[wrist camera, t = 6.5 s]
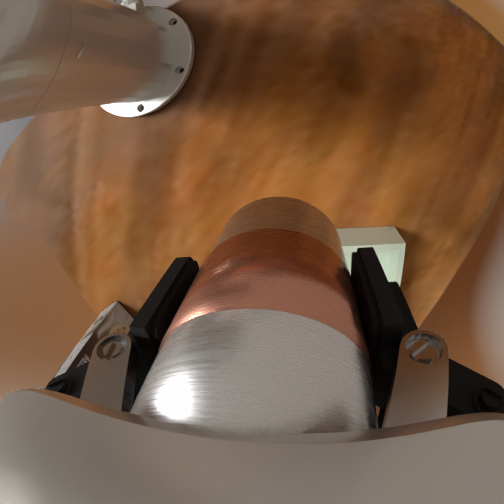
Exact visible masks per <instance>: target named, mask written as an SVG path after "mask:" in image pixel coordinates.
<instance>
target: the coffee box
mask: <svg viewBox="0 0 504 504" xmlns="http://www.w3.org/2000/svg"><path fill="white" fill-rule="evenodd" d="M133 320H134V318H133V317H132V316H131V315H130V314H129V313H128V312H127V311H126V310H125V309H124V308H123V307H122V306H121V305H120V303H119V302H118V301H116V302H115V303H113V304H112V305H110V306H109V307H108V308H106V309H105V310H103V311H102V312H101V313H100V314H99V316H98V317H97V319H96V320H95V322H94V323H93V324H92V325H91V327H90V328H89V329H88V330H87V332H86V333H85V335H84V336H83V337H82V338H81V340H80V341H79V342H78V344H77V345H76V347H75V348H74V349H73V351H72V352H71V353H70V355H69V356H68V357H67V359H66V360H65V362H64V363H63V365H62V366H61V367H60V369H59V370H58V371H57V373H56V374H55V376H54V377H53V378H55V377H57V376H58V375H61V374H63V373H65V372H67V371H69V370H71V369H73V368H76V367H78V366H80V365H82V364H84V363H86V362H88V361H90V359H91V355H92V352H93V349H94V347H95V345H96V344H97V342H98V341H99V340H100V339H102V338H103V337H105V336H107V335H109V334H112V333H117V332H121V333H125V334H128V333H129V331H130V328H129V326H130V324H131V323H132V321H133Z"/></svg>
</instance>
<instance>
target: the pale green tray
mask: <svg viewBox="0 0 504 504" xmlns="http://www.w3.org/2000/svg"><path fill="white" fill-rule="evenodd" d="M336 230H337V233H338V235H339V238H340V241H341V245H342V248H343V252H344V256H345V259H346V263H347V267H348V270H349V272H350V275H351V257H352V252H357V248H364V247H373V248H374V250H375V252H376V255H377V257H378V259H379V261H380V263H381V266H382V268H383V270H384V273H385V275H386V277H387V280H388V282H395V281H396V282H397V283H398V284H399V286H400V284H401V277H402V271H403V263H404V255H405V246H406V243H405V241H404V240H403V238H402V237H401V235H400V234H399V233H398V231H397V230H396V228H395V227H394V226H390V227H365V228H343V229H336Z"/></svg>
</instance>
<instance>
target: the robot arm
mask: <svg viewBox="0 0 504 504" xmlns="http://www.w3.org/2000/svg"><path fill="white" fill-rule="evenodd" d="M176 22H177V23H176ZM175 23H176V24H175ZM194 55H195V45H194V39H193V35H192V32H191V30H190V28H189V26H188V25H187V23H186V22H185V21H184V20H183V19H182V18H181V17H180V16H178V15H177V14H176V13H174V12H172V11H170V10H168V9H166V8H161V7H157V6H148V7H143V1H142V0H122V3H121V4H119V3H116V0H0V123H2V122H6V121H10V120H14V119H19V118H23V117H28V116H33V115H38V114H43V113H48V112H54V111H60V110H67V109H74V108H81V107H89V106H99V105H100V106H101V107H102V108H103V109H104V110H106V111H107V112H109V113H111V114H113V115H116V116H120V117H139V116H143V115H147V114H150V113H152V112H154V111H157V110H159V109H160V108H162V107H163V106H165V105H166V104H168V103H169V102H170V101H171V100H172V99H173V98H174V97H175V96H176V95H177V94H178V92H179V91H180V90H181V88H182V87H183V86H184V84H185V82H186V80H187V79H188V77H189V75H190V72H191V69H192V66H193V61H194ZM183 68H184V71H183V73H181V70H182V69H183ZM143 107H144V109H143ZM198 272H199V266H198V263H197V261H193V259H192V258H191V257H181V258H176V259H175V260H174V261H173V263H172V264H171V266H170V267H169V268H168V270H167V271H166V273H165V274H164V276H163V277H162V278H161V280H160V281H159V283H158V284H157V286H156V287H155V289H154V290H153V291H152V293H151V294H150V296H149V297H148V299H147V300H146V302H145V303H144V305H143V306H142V308H141V309H140V311H139V312H138V314H137V315H136V317H135V318H134V320H133V321H132V323H131V324H130V326H129V328H130V331H129V333H128V334H125V333H121V332H117V333H112V334H109V335H107V336H105V337H103V338H102V339H100V340H99V341H98V342H97V344H96V345H95V347H94V349H93V352H92V355H91V359H90V361H88V362H86V363H84V364H82V365H80V366H78V367H76V368H73V369H71V370H69V371H67V372H65V373H63V374H61V375H58V376H57V377H55V378H53V379H52V380H51V381H50V382H49V383H48V385H47V386H46V389H45V388H41V389H35V388H28V389H19V390H14V391H12V392H9V393H8V394H6V395H4V396H3V398H2V399H1V400H0V504H504V389H503V388H502V386H500V385H499V384H498V383H496V382H494V381H492V380H490V379H488V378H486V377H484V376H483V375H480V374H479V373H477V372H475V371H472V370H470V369H469V368H467V367H465V366H463V365H461V364H459V363H457V362H455V361H453V360H451V359H449V357H448V356H449V353H448V346H447V344H446V342H445V340H444V339H443V338H442V337H441V336H440V335H439V334H437V333H435V332H433V331H429V330H418V328H417V326H416V323H415V321H414V318H413V316H412V314H411V311H410V309H409V307H408V304H407V302H406V300H405V297H404V295H403V293H402V290H401V288H400V286H399V284H398V283H397V282H396V281H395V282H388V280H387V277H386V275H385V273H384V270H383V268H382V266H381V263H380V261H379V259H378V257H377V255H376V252H375V250H374V248H373V247H364V248H357V252H352V257H351V278H352V281H353V284H354V288H355V292H356V296H357V300H358V305H359V309H360V313H361V318H362V322H363V327H364V331H365V336H366V341H367V346H368V351H369V356H370V362H371V367H372V386H373V393H374V400H375V405H377V406H378V407H379V409H378V413H377V422H378V428H377V429H369V430H359V431H348V432H334V433H306V434H293V435H282V436H268V437H239V436H226V435H215V434H208V433H202V432H196V431H191V430H186V429H182V428H179V427H175V426H171V425H168V424H165V423H163V422H160V421H157V420H155V419H152V418H148V417H144V416H139V415H135V414H131V413H130V410H131V408H132V406H133V404H134V402H135V400H136V398H137V396H138V393H139V391H140V389H141V387H142V385H143V383H144V381H145V379H146V377H147V375H148V373H149V371H150V369H151V367H152V365H153V363H154V360H155V358H156V356H157V354H158V351H159V347H160V344H161V342H162V340H163V338H164V336H165V334H166V332H167V330H168V328H169V326H170V324H171V322H172V320H173V318H174V317H175V315H176V313H177V311H178V309H179V307H180V305H181V303H182V301H183V299H184V298H185V296H186V294H187V292H188V290H189V288H190V286H191V285H192V283H193V281H194V279H195V277H196V275H197V273H198Z"/></svg>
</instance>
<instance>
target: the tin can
mask: <svg viewBox="0 0 504 504" xmlns="http://www.w3.org/2000/svg"><path fill="white" fill-rule="evenodd" d="M130 413H131V414H135V415H139V416H144V417H148V418H152V419H155V420H157V421H160V422H163V423H165V424H168V425H171V426H175V427H179V428H182V429H186V430H191V431H196V432H202V433H208V434H215V435H226V436H239V437H268V436H282V435H293V434H306V433H334V432H348V431H359V430H369V429H377V428H378V422H377V414H376V407H375V400H374V393H373V386H372V367H371V362H370V356H369V351H368V346H367V341H366V336H365V331H364V327H363V322H362V318H361V313H360V309H359V305H358V300H357V296H356V292H355V288H354V284H353V281H352V278H351V275H350V272H349V270H348V267H347V263H346V259H345V256H344V252H343V248H342V245H341V241H340V238H339V235H338V233H337V230H336V229H335V227H334V225H333V224H332V222H331V221H330V220H329V218H328V217H327V216H326V215H325V214H324V213H323V212H321V211H320V210H319V209H317V208H316V207H314V206H312V205H310V204H309V203H306V202H304V201H301V200H298V199H294V198H289V197H269V198H263V199H260V200H256V201H254V202H252V203H249V204H247V205H246V206H244V207H242V208H241V209H240V210H239V211H237V212H236V213H235V214H234V215H233V216H232V217H231V218H230V220H229V221H228V223H227V224H226V226H225V227H224V229H223V231H222V233H221V235H220V236H219V238H218V240H217V242H216V244H215V245H214V247H213V249H212V251H211V253H210V254H209V255H208V257H207V258H206V260H205V261H204V263H203V264H202V266H201V268H200V270H199V272H198V273H197V275H196V277H195V279H194V281H193V283H192V285H191V286H190V288H189V290H188V292H187V294H186V296H185V298H184V299H183V301H182V303H181V305H180V307H179V309H178V311H177V313H176V315H175V317H174V318H173V320H172V322H171V324H170V326H169V328H168V330H167V332H166V334H165V336H164V338H163V340H162V342H161V344H160V347H159V351H158V354H157V356H156V358H155V360H154V363H153V365H152V367H151V369H150V371H149V373H148V375H147V377H146V379H145V381H144V383H143V385H142V387H141V389H140V391H139V393H138V396H137V398H136V400H135V402H134V404H133V406H132V408H131V410H130Z"/></svg>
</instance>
